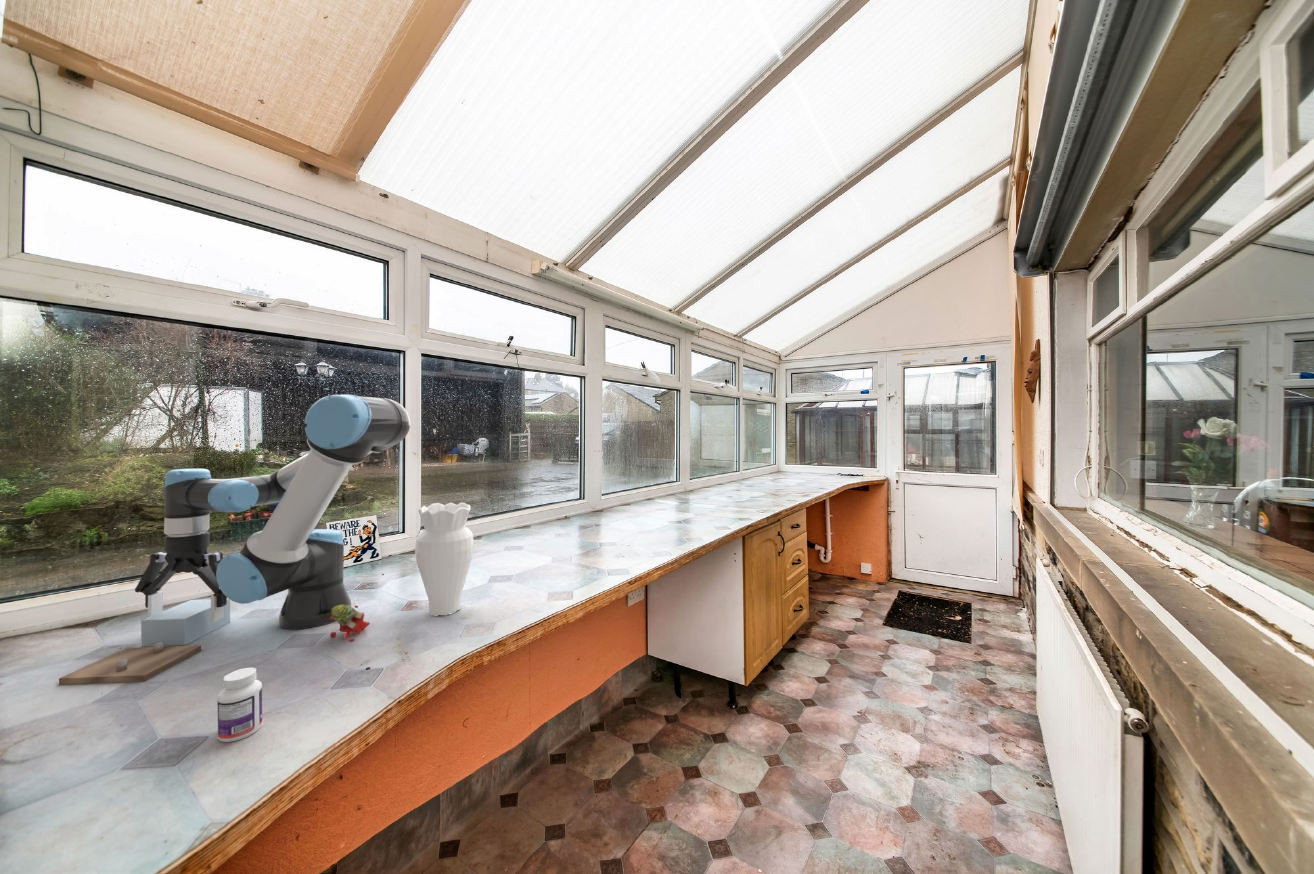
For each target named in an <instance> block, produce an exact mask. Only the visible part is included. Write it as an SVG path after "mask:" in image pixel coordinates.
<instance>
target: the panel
mask: <svg viewBox="0 0 1314 874" xmlns="http://www.w3.org/2000/svg"><path fill="white" fill-rule="evenodd" d="M210 616H211V598H210V599H209V598H208V599H207V598H206V599H190V600H187V601H185V602H182V603H179V604H178V605H175V606H173V607H169V608H167V609H166V610H163V612H160V613H158V614H155V615H153V616H150V617H148V616H147V617H146V618H143V619H141V620H140V632H141V634H140V636H141V637H140V647H153V644H155V643H159V642H163V646H187V645H188V644H190V643H191V642H193V641H195V640H198V639H200V638H201V637H203V636H206V635H207V634H209V633H212V632H213V631H215V630H217V629H219V628H221V627H223V626H225V625H227V624H229V623H231V600H230V599H229V598H227V604H226V605H225V606H224V618H222V619H220V620H218V621H216V622H210Z"/></svg>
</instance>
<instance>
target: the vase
mask: <svg viewBox="0 0 1314 874" xmlns="http://www.w3.org/2000/svg"><path fill="white" fill-rule="evenodd" d="M417 512H418V514H419V516H420V518H421V521H422V524H423V527H424V529H423V530H422V531H421V532H419V534H418V535H417V537H416V539H415V547H414V552H415V555H414V556H415V562H416V566H417V568H418V572H419V575H420V577H421V580H422V583H423V587H424V589H425V593H426V597H427V599H428V601H427V602H428V614H429V613H430V614H429V615H431V614H432V615H431V616H433V615H445V616H447V615H446V614H449V613H453V612H455V613H457V612H458V611H457V610H459V609H460V610H461V607H462V594H463V590H464V586H465V583H466V579H467V578H468V577H467V576H468V573H469V569H470V566H471V562H472V561H473V556H474V546H475V541H474V534H473V532H472V531H471V530H470V529H469V528H468V527H467V526H466V523H467V521H468V517H469V514H470V513H471V505H470V504H467V503H466V502H459V503H458V504H456V503H453V502H451V501H450V502H448V503H445V504H442V503H440V502H436V503H435V502H434V503H431V504H430V505H428V506H426V505H423V506H421V507H419V508H418V511H417ZM460 610H459V611H460ZM456 611H457V612H456ZM453 614H454V613H453Z"/></svg>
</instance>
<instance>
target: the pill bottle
mask: <svg viewBox="0 0 1314 874" xmlns="http://www.w3.org/2000/svg"><path fill="white" fill-rule="evenodd" d="M222 686H223V689H222V690H221V691H220V692H219V693H218V695H217V703H216V704H217V740H218V741H220V742H222V743H230V742H231V743H232V742H236V741H240V740H242V739H245V738H247V737H249V736H251V735H253V734H254V733H256V732H257V731H258V730H260V728H261V727H262V725H263V683H262V682H261V681H260V680H259V679H257V668H255V667H244V668H240V669H236V670H234V671H232V672H230V673H227V674H226V675H224V677H223V679H222Z"/></svg>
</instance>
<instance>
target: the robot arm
mask: <svg viewBox="0 0 1314 874" xmlns="http://www.w3.org/2000/svg"><path fill="white" fill-rule="evenodd" d="M410 418H411V417H410V415H409V413H408V411H407V410H406V409H405V407H404V406H403V405H402V404H400V403H399V402H398V401H395V400H394V399H390V398H385V397H371V396H360V395H355V394H350V393H344V394H332V395H331V394H330V395H326V396H324V397H322V398H320V399H318V400H317V401H316V402H314V403H313V404H312V405H311V407H309V408H308V410H307V413H306V415H305V418H304V424H305V425H306V427H304V430H305V431H304V432H305V434H306V437H307V439H306V444H307V445H308V446H309V449H310V450H309V452H308V453H306V454H305V455H303V456H301V457H299V458H297V459H295V460H294V461H292V462H290V463H289V464H287V465H285V466H283V467H281V468H279V469H278V470H276V471H274V472H272V473H270V474H269V473H268V474H264V475H263V474H262V475H255V476H246V477H235V478H226V479H225V478H221V479H220V478H212V475H211V472H210V471H211V470H209V469H207V468H180V469H171V470H169V471H167V472H166V474H165V480H164V485H163V493H164V495H163V496H164V497H163V500H164V504H163V505H164V521H163V522H164V523H163V534H164V535H165V537H164V538H163V551H160V552H156V553H153V554H152V553H151V555H150V560H149V564H148V565H147V567H146V569H145V571H144V573H143V574H142V576H141V577H140V580H139V581H138V583H137V585H136V587H135V589H134V592H135V593H142V594H143V595H144V596H145V598H144V599H145V600H144V601H145V603H144V604H145V605H144V606H145V608H146V609H147V618H148V617H150V616H153V615H155V614H158V613H160V612H163V611H164V591H161V590H163V589H162V588H163V587H164V585H165V584H167V583H168V581H169V580H171V578H172V577H173V576H174V575H175V574H176V573H178V574H179V573H192V574H193V575H196V576H198V577H199V578H200V579H201V580H202V582H203V583H204V584H205V585H206V586H207V587H208V588H209V589H210V590H211V591H212V592H213V593H214V594H211V595H210V599H211V616H210V622H216V621H218V620H220V619H222V618H224V606H225V605H226V604H227V599H230V601H232V602H234V603H237V604H241V605H242V604H250V603H253V602H257V601H263V600H264V599H266V598H268V597H271V596H273V595H276V594H279V593H281V592H284V591H287V595H286V597H285V599H284V602H283V605H282V607H281V609H280V613H279V614H278V615H279V616H278V626H279V627H281V628H284V629H291V630H292V629H294V630H295V629H296V630H298V629H307V628H308V629H309V628H313V627H318V626H322V625H327V624H330V623H333V622H337V621H336V620H334V619H330V617H331V616H333V615H332V613H331V609H332V608H333V607H335V606H338V605H343V604H344V605H349V606H350V607H352V601H351V598H350V596H349V594H348V591H347V588H346V587H345V584H344V557H345V555H344V551H345V549H344V548H345V543H344V535H343V533H342V531H340V530H338V529H330V528H316V527H317V525H318V523H319V522H320V520H321V518H322V516H323V514H324V513H325V511H326V510H327V509H328V506H329V504H330V503H331V501H332V500H333V498H334V497H335V495H336V493H337V491H338V490H339V488H340V487H341V485H342V483H343V482H344V480H345V479H346V477H347V475H348V474H349V472H350V470H351V469H352V467H353V466H354V465H358V464H362V463H363V462H364V461H365V459H366V458H367V457H368V455H370V454H373V453H375V454H379V453H382V452H384V451H386V450H388V449H390V448H392V447H394V446H396V445H397V444H399V443H400V442H401V441H403V440H404V439H405V437H406V436H407V435H408V433H409V432H410V429H411V428H410V427H411V419H410ZM277 503H278V504H277ZM271 504H277V506H276V507H275V509H274V510H273V511H272V514H271V516H270V517H269V519H268V520H267V522H266V524H265V526H264V527H263V529H262V530H259V531H257V532H254V533H253V534H251V535H250V536H249V537H248V538H247V540H246V541H245V543H244V544H243V547H242V548H241V550H240V551H239V552H238V551H237V552H234V553H233V552H232V553H229V555H228V554H227V555H226V556H223V552H222V551H218V552H214V553H209V552H208V547H209V546H210V539H211V538H210V537H211V535H210V532H209V531H208V530H209V529H210V521H211V520H210V515H211V512H220V513H242V512H245V511H247V510H249V509H251V508H252V507H259V506H262V505H271ZM165 563H167V565H166V566H164V565H165ZM163 567H164V568H163ZM162 568H163V569H162ZM161 570H162V571H161Z"/></svg>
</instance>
